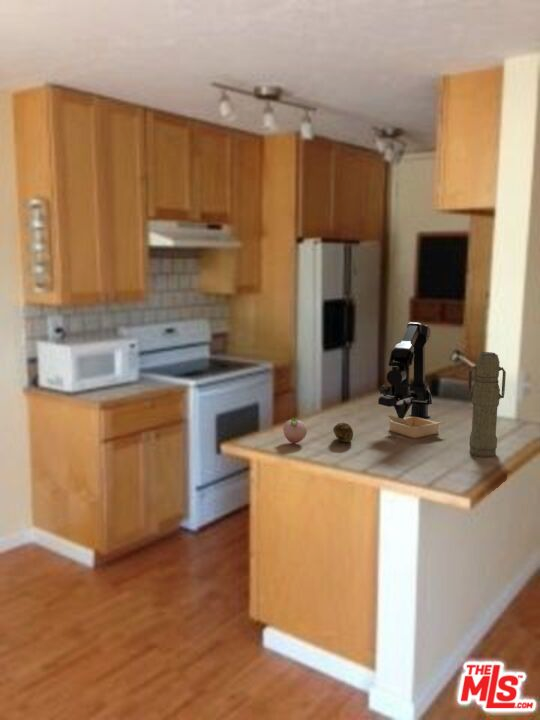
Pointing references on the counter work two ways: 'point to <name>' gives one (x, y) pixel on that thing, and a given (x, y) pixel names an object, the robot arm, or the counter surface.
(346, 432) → the potato
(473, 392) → the thermos
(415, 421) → the carton
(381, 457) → the counter surface
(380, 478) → the counter surface
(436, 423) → the left flap
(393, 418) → the far flap
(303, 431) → the decorative fruit
